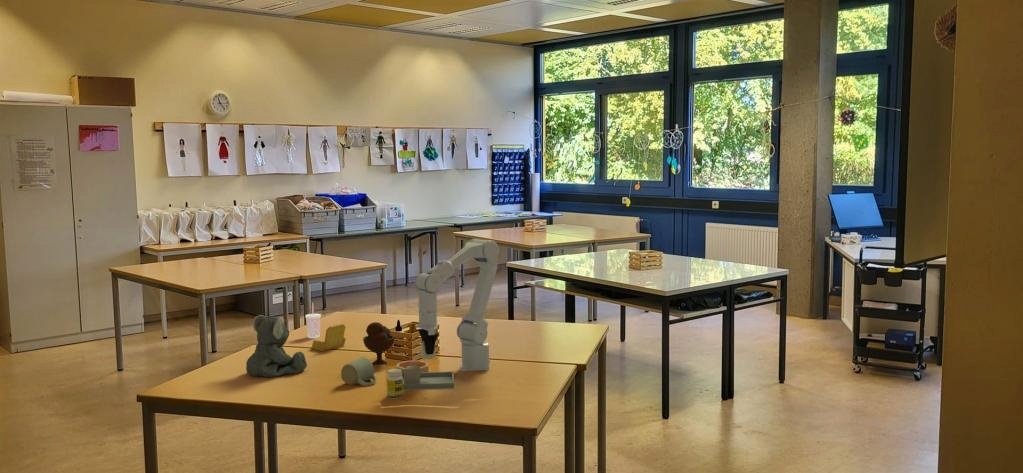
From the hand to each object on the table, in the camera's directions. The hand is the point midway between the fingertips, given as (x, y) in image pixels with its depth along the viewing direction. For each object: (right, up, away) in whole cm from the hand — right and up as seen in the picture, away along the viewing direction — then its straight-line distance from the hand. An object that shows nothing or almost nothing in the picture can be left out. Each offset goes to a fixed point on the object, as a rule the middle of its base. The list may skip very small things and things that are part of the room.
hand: (428, 352), depth 253 cm
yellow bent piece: (-42, -5, +45) cm, 62 cm away
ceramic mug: (-21, -10, -3) cm, 23 cm away
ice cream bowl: (-19, -7, +20) cm, 28 cm away
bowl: (-6, -8, +8) cm, 13 cm away
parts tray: (0, -9, -4) cm, 10 cm away
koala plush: (-54, -9, +11) cm, 55 cm away
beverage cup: (-53, -3, +62) cm, 81 cm away
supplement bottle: (-8, -11, -18) cm, 23 cm away
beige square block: (-5, -9, -5) cm, 11 cm away
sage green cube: (0, -2, 0) cm, 2 cm away
